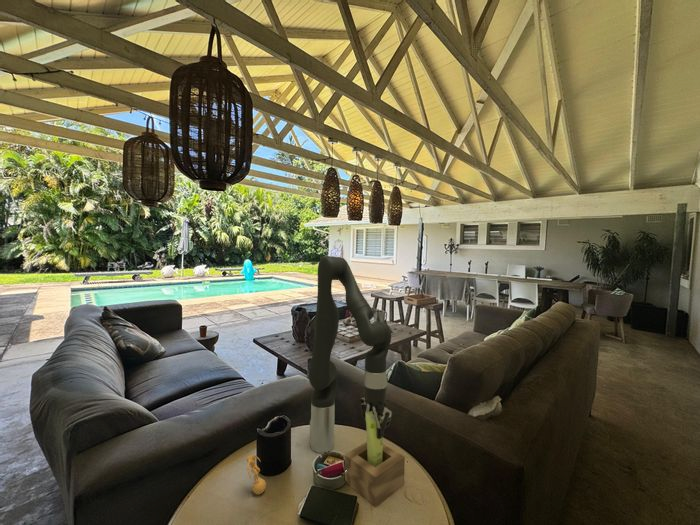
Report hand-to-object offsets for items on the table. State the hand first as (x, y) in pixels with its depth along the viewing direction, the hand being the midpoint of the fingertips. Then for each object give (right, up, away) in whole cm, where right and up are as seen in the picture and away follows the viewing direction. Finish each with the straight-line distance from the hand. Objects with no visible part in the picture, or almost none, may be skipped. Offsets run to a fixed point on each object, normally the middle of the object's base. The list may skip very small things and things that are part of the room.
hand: (374, 434), depth 98 cm
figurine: (-38, -16, -5) cm, 41 cm away
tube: (0, -11, 0) cm, 11 cm away
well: (0, -16, 0) cm, 16 cm away
